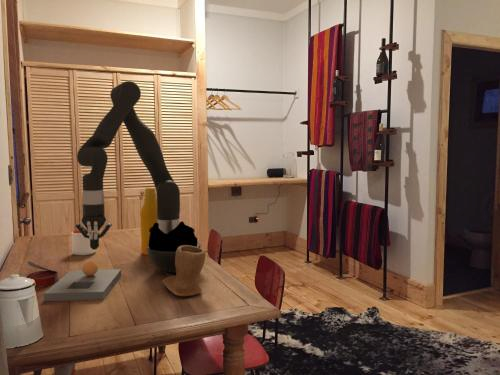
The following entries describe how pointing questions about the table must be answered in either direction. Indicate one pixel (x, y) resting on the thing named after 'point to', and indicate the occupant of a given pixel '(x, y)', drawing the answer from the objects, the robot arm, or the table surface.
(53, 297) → the grey flat block
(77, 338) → the table surface
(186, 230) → the bowl of black rocks
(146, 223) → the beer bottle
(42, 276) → the canned food
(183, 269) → the tan suede boot
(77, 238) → the cup
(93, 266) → the ball
